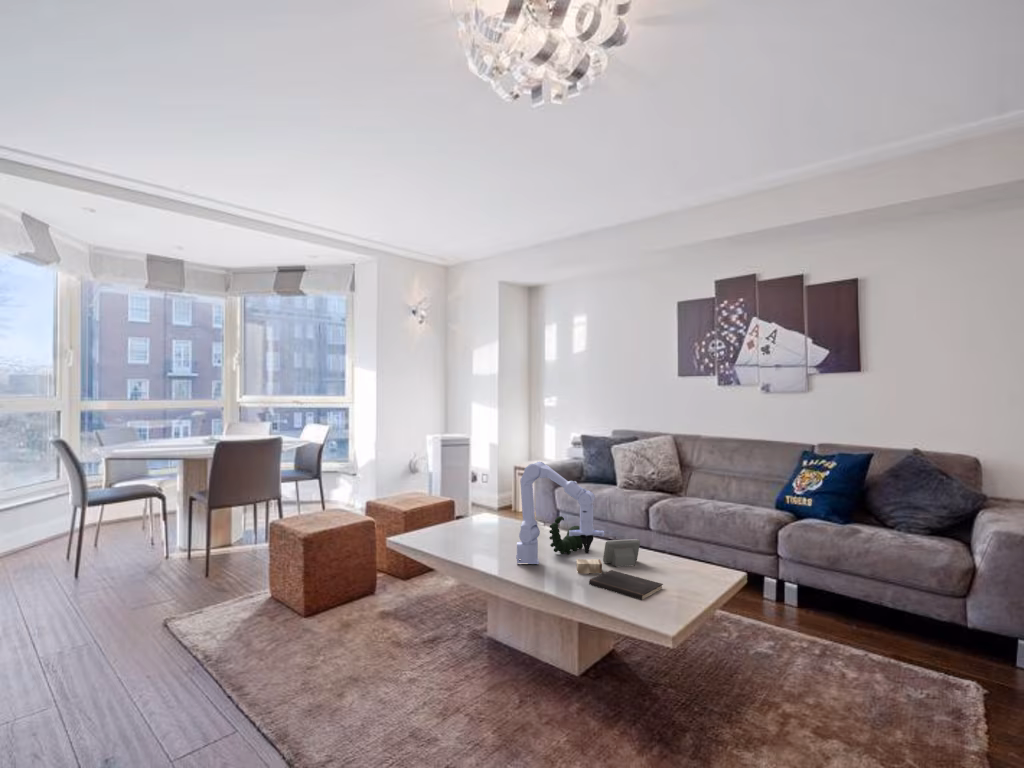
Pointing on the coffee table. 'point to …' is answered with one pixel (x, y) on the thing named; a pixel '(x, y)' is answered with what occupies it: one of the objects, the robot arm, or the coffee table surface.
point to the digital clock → (621, 552)
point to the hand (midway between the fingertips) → (586, 553)
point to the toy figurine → (568, 541)
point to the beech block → (589, 566)
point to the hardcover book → (626, 584)
